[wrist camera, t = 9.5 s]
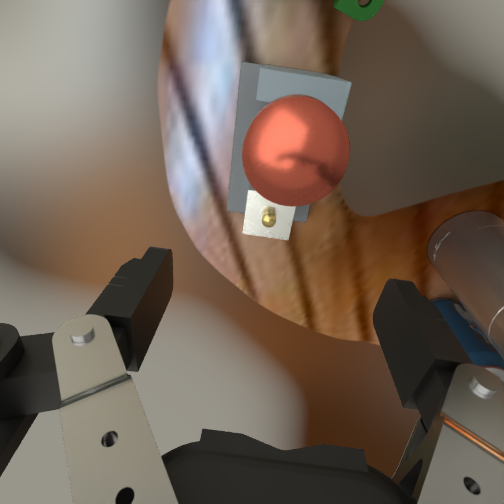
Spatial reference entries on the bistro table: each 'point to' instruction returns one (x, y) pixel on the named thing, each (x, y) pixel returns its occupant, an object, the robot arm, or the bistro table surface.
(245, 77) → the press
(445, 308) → the soda can
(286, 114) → the disc
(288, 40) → the bistro table surface
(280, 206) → the block
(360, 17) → the clamp
